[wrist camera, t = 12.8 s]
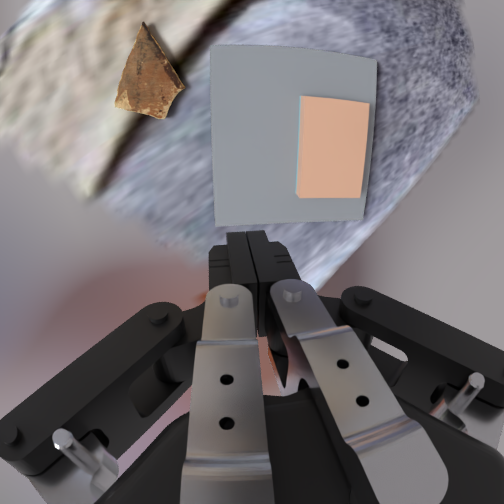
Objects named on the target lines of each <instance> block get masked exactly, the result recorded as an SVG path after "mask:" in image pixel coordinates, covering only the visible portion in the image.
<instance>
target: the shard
mask: <svg viewBox="0 0 504 504" xmlns="http://www.w3.org/2000/svg"><path fill="white" fill-rule="evenodd" d="M183 89H185V86H184V85H183V84H182V82H181V80H180V79H179V77H178V76H177V74H176V72H175V70H174V69H173V67H172V66H171V64H170V63H169V61H168V59H167V58H166V56H165V53H164V52H163V51H162V49H161V47H160V46H159V44H158V43H157V41H156V40H155V38H154V37H153V36H152V35H151V34H150V32H149V29H148V27H147V25H146V24H145V22H142V25H141V27H140V30H139V32H138V34H137V38H136V42H135V43H134V46H133V48H132V51H131V53H130V55H129V57H128V59H127V62H126V65H125V68H124V70H123V72H122V76H121V80H120V82H119V86H118V90H117V92H118V94H117V97H116V100H115V107H117V108H121V109H125V110H127V111H132V112H138V113H143V114H147V115H150V116H153V117H155V118H158V119H165V118H166V116H167V113H168V110H169V108H170V106H171V103H172V101H173V99H174V98H175V97H176V95H177V94H178V93H179V92H180V91H181V90H183Z"/></svg>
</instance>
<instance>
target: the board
mask: <svg viewBox="0 0 504 504" xmlns="http://www.w3.org/2000/svg"><path fill="white" fill-rule="evenodd" d="M376 80H377V60H374V59H369V58H365V57H359V56H354V55H349V54H343V53H336V52H330V51H322V50H314V49H306V48H295V47H282V46H264V45H212V46H210V96H211V139H212V168H213V191H214V212H215V227H218V226H235V225H254V224H275V223H297V222H323V221H354V220H363V215H364V209H365V202H366V195H367V187H368V180H369V172H370V163H371V153H372V143H373V132H374V119H375V103H376ZM300 96H310V97H322V98H332V99H341V100H349V101H356V102H363V103H370V105H369V120H368V132H367V143H366V153H365V163H364V171H363V180H362V187H361V195H360V198H299V197H298V195H297V194H296V193H295V191H296V174H297V154H298V132H299V105H300Z"/></svg>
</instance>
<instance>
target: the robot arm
mask: <svg viewBox="0 0 504 504" xmlns="http://www.w3.org/2000/svg"><path fill="white" fill-rule="evenodd" d="M226 237H227V245H216V246H213V248H212V249H211V250H210V252H209V292H208V293H207V295H206V300H205V301H204V302H203V303H202V304H201V305H199V306H197V307H195V308H193V309H189V310H186V311H182V310H181V309H180V308H179V307H178V306H177V305H175V304H172V303H169V302H157V303H153V304H150V305H148V306H146V307H145V308H143V309H141V310H140V311H139V312H138V313H136V314H135V315H134V316H132V317H131V318H130V319H128V320H127V321H126V322H124V323H123V324H122V325H121V326H119V327H118V328H116V329H115V330H114V331H113V332H111V333H110V334H109V335H107V336H106V337H105V338H104V339H102V340H101V341H99V342H98V343H97V344H95V345H94V346H93V347H92V348H90V349H89V350H88V351H87V352H85V353H84V354H83V355H81V356H80V357H79V358H77V359H76V360H75V361H73V362H72V363H71V364H70V365H68V366H67V367H66V368H65V369H63V370H62V371H61V372H59V373H58V374H57V375H56V376H54V377H53V378H52V379H51V380H49V381H48V382H47V383H45V384H44V385H43V386H42V387H40V388H39V389H38V390H37V391H35V392H34V393H33V394H32V395H30V396H29V397H28V398H27V399H25V400H24V401H23V402H22V403H21V404H19V405H18V406H17V407H15V408H14V409H13V410H12V411H11V412H9V413H8V414H7V415H6V416H4V417H3V418H2V419H1V420H0V457H1V458H2V459H4V460H5V461H6V462H8V463H9V464H10V465H12V466H13V467H14V468H16V469H17V471H18V472H20V473H21V474H22V475H24V476H25V477H27V478H28V479H29V480H30V482H31V483H32V485H33V486H34V487H35V489H36V490H37V491H38V493H39V494H40V495H41V497H42V498H43V499H44V501H45V502H46V503H47V504H504V457H503V456H502V455H501V454H500V453H499V452H498V451H497V447H498V443H499V439H500V436H501V432H502V428H503V424H504V351H502V350H500V349H498V348H496V347H494V346H492V345H490V344H488V343H485V342H484V341H482V340H480V339H477V338H475V337H473V336H471V335H469V334H467V333H465V332H463V331H461V330H459V329H457V328H454V327H452V326H450V325H448V324H446V323H444V322H442V321H440V320H437V319H435V318H433V317H431V316H429V315H427V314H425V313H422V312H420V311H418V310H416V309H414V308H411V307H409V306H407V305H405V304H403V303H401V302H399V301H397V300H394V299H392V298H390V297H388V296H386V295H384V294H381V293H379V292H377V291H375V290H373V289H370V288H367V287H362V286H354V287H350V288H347V289H346V290H344V291H343V293H342V295H341V299H340V298H331V297H323V296H319V295H317V293H316V292H315V290H314V289H313V287H312V286H311V285H310V284H308V283H306V282H304V281H302V280H301V278H300V276H299V274H298V272H297V270H296V267H295V265H294V263H293V262H292V259H291V257H290V254H289V252H288V250H287V248H286V247H285V246H284V245H282V244H281V243H280V242H278V241H277V242H269V241H268V238H267V236H266V233H265V231H264V230H260V231H246V234H245V231H244V232H228V233H226ZM257 330H258V335H259V337H264V336H267V340H268V356H269V359H270V362H271V365H272V368H273V371H274V374H275V377H276V380H277V383H278V386H279V389H280V392H281V396H270V395H263V391H262V380H261V370H260V359H259V348H258V340H257V339H256V337H257ZM373 336H374V337H376V338H378V339H380V340H382V341H384V342H386V343H388V344H390V345H392V346H394V347H395V348H397V349H399V350H402V351H403V352H404V353H405V354H406V355H407V358H408V361H405V362H404V361H400V360H399V359H397V358H395V357H393V356H391V355H389V354H387V353H385V352H383V351H381V350H379V349H377V348H376V347H374V346H372V345H371V342H372V339H373ZM191 385H192V392H191V403H190V411H189V412H188V413H186V414H184V415H182V416H180V417H179V418H177V419H175V420H174V421H173V422H171V424H169V425H168V426H167V427H166V428H165V429H164V430H163V431H162V432H161V433H160V434H159V435H158V436H157V437H156V439H155V440H154V441H153V442H152V443H151V444H150V445H149V446H148V447H147V449H146V450H145V451H144V452H143V453H142V454H141V455H140V456H139V457H138V458H137V459H136V460H135V461H134V463H133V464H132V465H131V466H130V467H129V468H128V469H127V470H126V471H125V472H124V473H123V474H122V475H121V476H120V477H119V478H118V479H117V477H118V473H119V468H118V463H117V459H118V458H119V457H120V456H121V455H122V454H123V453H125V451H127V449H129V448H130V447H131V445H133V444H134V443H135V442H136V441H137V440H138V439H139V438H140V437H141V436H142V435H143V434H144V433H145V432H146V431H147V430H148V429H149V428H150V427H151V426H152V425H153V424H154V423H155V422H156V421H157V420H158V419H159V418H160V417H161V416H162V415H163V414H164V413H165V412H166V411H167V410H168V409H169V408H170V407H171V406H172V405H173V404H174V403H175V402H176V401H177V400H178V398H180V397H181V396H182V395H183V393H184V392H185V391H186V390H187V389H188V388H189V387H190V386H191ZM116 479H117V480H116Z"/></svg>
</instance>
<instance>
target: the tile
mask: <svg viewBox="0 0 504 504" xmlns="http://www.w3.org/2000/svg"><path fill="white" fill-rule="evenodd" d="M369 105H370V103H363V102H356V101H349V100H341V99H332V98H322V97H310V96H300V105H299V132H298V154H297V174H296V191H295V193H296V194H297V195H298V197H299V198H360V195H361V187H362V180H363V171H364V163H365V153H366V143H367V132H368V120H369Z"/></svg>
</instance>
